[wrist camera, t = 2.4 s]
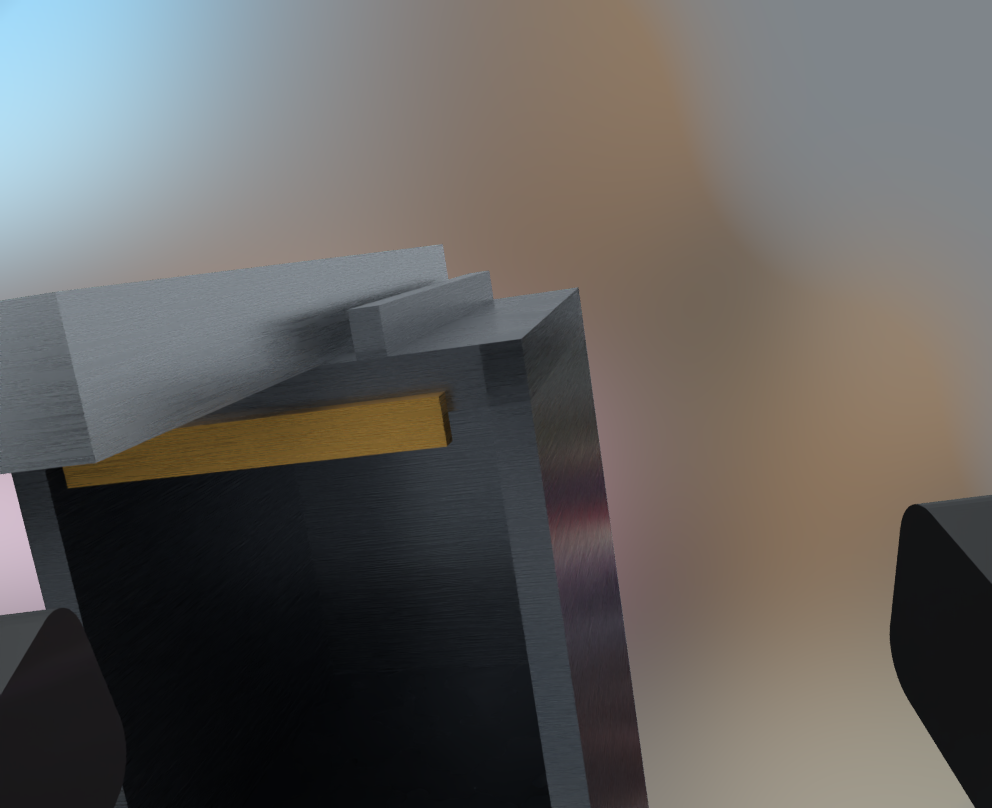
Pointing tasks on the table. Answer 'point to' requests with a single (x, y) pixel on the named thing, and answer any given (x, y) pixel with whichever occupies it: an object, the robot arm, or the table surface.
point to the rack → (365, 576)
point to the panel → (175, 349)
